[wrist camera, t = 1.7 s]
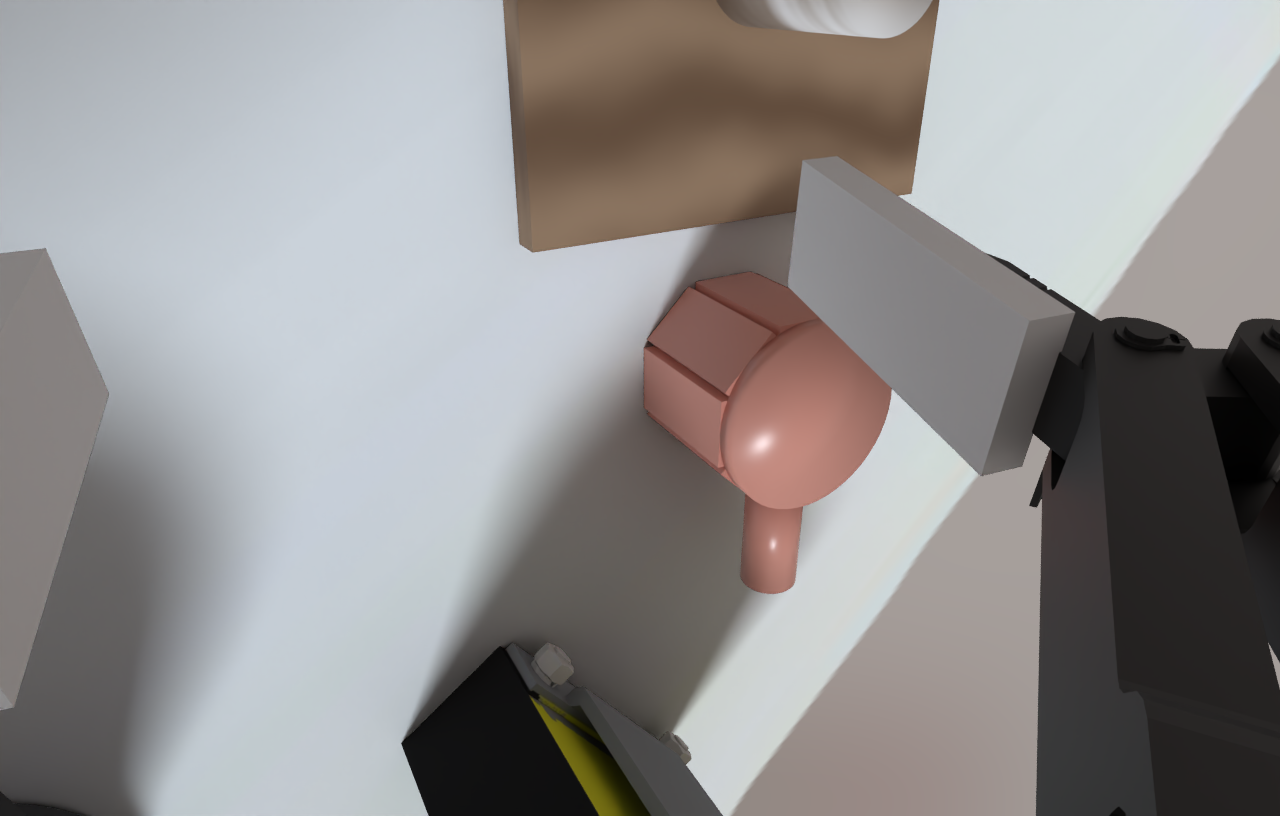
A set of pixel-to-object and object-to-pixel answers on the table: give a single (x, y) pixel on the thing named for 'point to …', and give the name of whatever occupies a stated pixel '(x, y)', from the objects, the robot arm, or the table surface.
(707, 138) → the base
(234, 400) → the table surface
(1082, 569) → the robot arm
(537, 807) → the electrical component
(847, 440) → the cap
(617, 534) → the table surface
